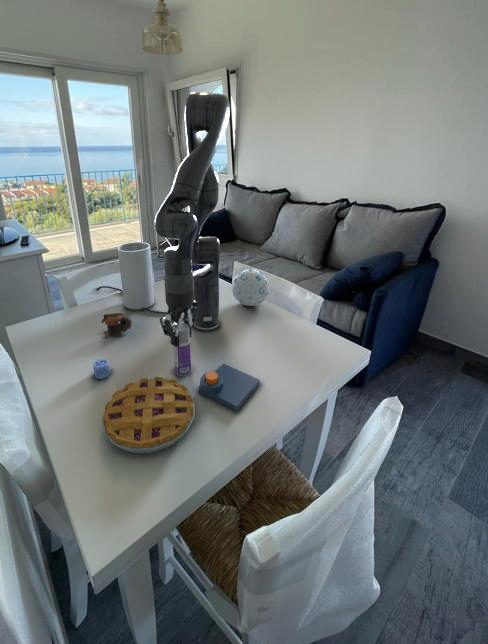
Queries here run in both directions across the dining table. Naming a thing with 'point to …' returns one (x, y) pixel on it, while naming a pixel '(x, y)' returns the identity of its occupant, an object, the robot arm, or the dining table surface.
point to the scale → (229, 387)
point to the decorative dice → (101, 368)
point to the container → (183, 352)
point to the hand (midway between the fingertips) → (181, 341)
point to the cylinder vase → (136, 275)
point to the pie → (148, 415)
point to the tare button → (211, 378)
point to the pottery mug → (116, 324)
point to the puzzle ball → (250, 287)
